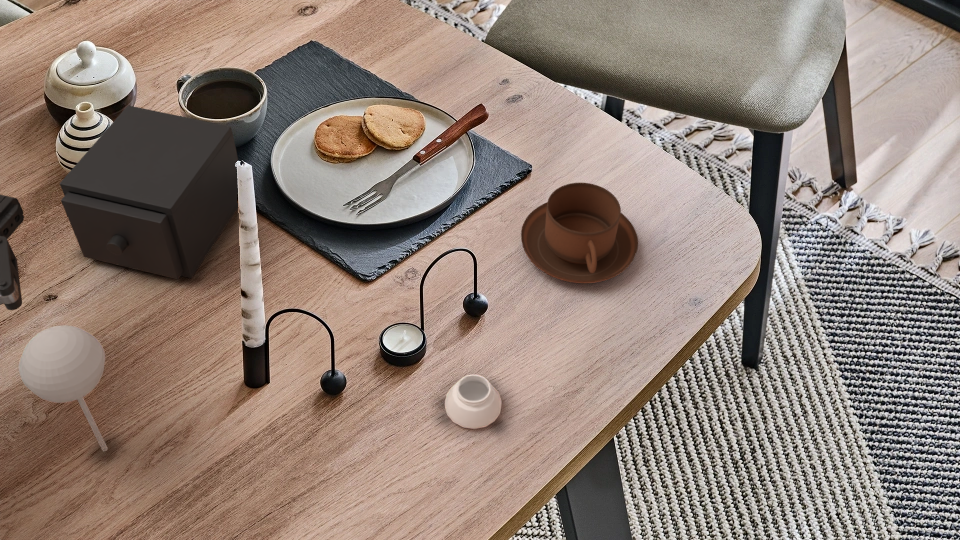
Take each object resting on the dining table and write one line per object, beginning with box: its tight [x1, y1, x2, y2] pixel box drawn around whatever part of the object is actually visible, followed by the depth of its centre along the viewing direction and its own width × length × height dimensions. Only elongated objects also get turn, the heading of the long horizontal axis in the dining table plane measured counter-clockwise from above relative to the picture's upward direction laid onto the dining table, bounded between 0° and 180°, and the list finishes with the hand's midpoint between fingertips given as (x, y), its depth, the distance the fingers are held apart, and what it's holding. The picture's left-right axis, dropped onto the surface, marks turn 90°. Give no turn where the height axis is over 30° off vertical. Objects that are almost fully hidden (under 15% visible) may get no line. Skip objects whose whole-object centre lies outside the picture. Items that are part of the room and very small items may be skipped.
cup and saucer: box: [520, 182, 639, 284], centre depth 96 cm, size 12×12×6 cm
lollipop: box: [18, 324, 109, 452], centre depth 75 cm, size 6×6×15 cm
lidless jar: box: [444, 373, 503, 430], centre depth 84 cm, size 5×3×5 cm
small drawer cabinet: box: [59, 105, 239, 279], centre depth 96 cm, size 13×12×10 cm
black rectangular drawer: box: [60, 192, 184, 280], centre depth 94 cm, size 13×10×8 cm
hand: (12, 203), depth 79 cm, fingers closed
